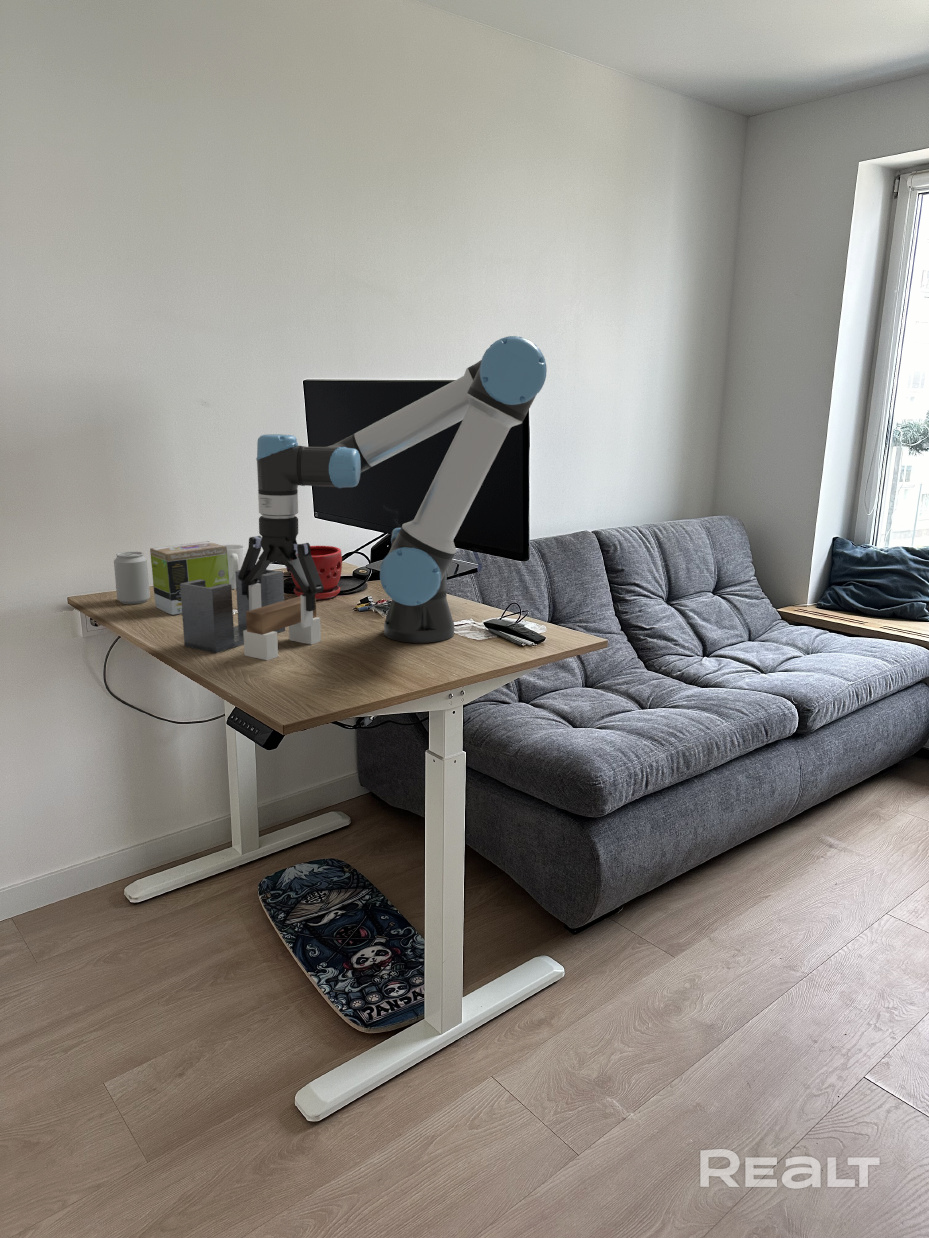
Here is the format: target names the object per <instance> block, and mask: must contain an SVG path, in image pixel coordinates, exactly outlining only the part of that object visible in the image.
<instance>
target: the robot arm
mask: <svg viewBox="0 0 929 1238" xmlns="http://www.w3.org/2000/svg"><path fill="white" fill-rule="evenodd" d="M547 368H548V367H547V364H546V359H545V356H544V354H543V352H542V350H541V349H540V348H539V347H538V346H537V344H535V343H534V342H532V341H531V340H529V339H526V338H524V337H522V336H517V335H513V336H512V335H511V336H510V335H509V336H504V337H501V338H499V339H498V340H495V341H494V342H493V343H492V344H490V345H489V347H488V348H487V349H486V350H485V351H484V354H483V356H482V358H481V360H479V361H477V362H476V363H474V364H472V365H470V366H469V367H467V368H466V369H465V370H464V371H465V372H464V375H462V376H461V377H459V378H457V379H455V380H453V381H451V382H449V383H448V384H446V385H444V386H442V387H440V388H438V389H436V390H434V391H433V392H430V393H429V394H427V395H424V396H423V397H420V398H419V399H418V400H415V401H413V402H412V403H410V404H408V405H405V406H404V407H402V408H401V409H398V410H397V411H395V412H393V413H391V414H389V415H387V416H386V417H382V418H381V419H379V420H377V421H375V422H373V423H372V424H370V425H368V426H366V427H365V428H363V429H361V430H359V431H357V432H355V433H353V434H352V435H349V436H348V437H345V438H344V439H341V440H340V441H338V442H335V443H333V444H332V445H328V446H302V445H299V443H298V441H297V440H298V439H297V437H296V436H295V435H294V434H293V435H291V434H277V433H276V434H271V433H270V434H269V433H268V434H261V435H260V436H259V437H258V438H257V441H256V442H257V443H256V445H257V447H256V451H257V452H256V459H255V460H256V470H257V486H258V487H257V496H258V497H257V499H258V513H259V514H260V516H259V517H258V533H259V535H257V536H250V537H249V538H248V547H247V549H246V550H247V551H246V552H245V559H244V561H243V564H242V567H241V570H240V572H239V575H238V579H239V580H243V581H244V582H245V584H246V585H247V598H248V599H249V611H250V610H254V609H257V608H261V584H259V583H257V582H259V578H260V577H261V576H262V574H263V573H264V571H265V570H266V569H268V567H269V566H270V564H271V563H272V564H273V563H276V564H279V565H284V567H287V568H289V570H290V571H291V572H290V574H291V573H292V575H293V576H294V578H295V580H296V581H297V583H298V584H299V586H300V588H301V589H302V591H303V595H301V628H306V627H309V626H312V625H313V610H315V594H316V593H318V592H322V591H323V590H324V587H323V584H322V582H321V579H320V577H319V574H318V571H317V569H316V566H315V564H314V561H313V558H312V556H311V550H310V546H311V545H310V543H309V542H305V543H298V542H297V538H298V537H297V536H298V535H299V517H297V515H298V514H299V498H298V497H299V496H298V495H299V494H298V492H299V491H298V486H301V487H305V486H308V487H309V486H310V487H323V488H324V487H327V488H337V489H342V488H354V487H357V486H358V484H359V482H360V480H361V474H362V473H363V472H365V471H367V470H369V469H370V468H373V467H374V466H376V465H378V464H380V463H382V462H383V461H386V460H387V459H389V458H392V457H393V456H395V455H397V454H400V453H401V452H403V451H406V450H407V449H408V448H412V447H413V446H415V445H416V444H418V443H421V442H422V441H425V440H426V439H429V438H430V437H433V436H434V435H436V434H438V433H440V432H442V431H444V430H446V429H448V428H450V427H452V426H454V425H456V424H457V423H460V422H461V423H460V425H459V427H458V429H457V431H456V433H455V435H454V438H453V439H452V442H451V444H450V446H449V447H448V450H447V452H446V454H445V455H444V458H443V460H442V462H441V464H440V466H439V468H438V470H437V472H436V474H435V476H434V479H432V482H431V484H430V485H429V489H428V491H427V492H426V494H425V496H424V499H423V501H422V502H421V504H420V507H419V508H418V510H417V513H416V515H415V516H414V519H412V520H410V521H408V522H405V523H402V526H401V527H396V528H394V529H393V530H392V531H391V538H390V543H391V547H390V550H389V552H388V553H387V555H386V556H385V557H384V558H383V560H382V562H381V564H380V567H379V569H380V571H379V580H380V584H381V587H382V588H383V590H384V593H386V595H387V596H388V598H390V599H391V601H390V604H389V608H388V611H387V613H386V617H385V620H384V623H383V634H384V636H385V637H387V638H388V639H390V640H394V641H397V642H404V643H415V644H416V643H417V644H418V643H420V644H422V643H423V644H425V643H435V642H441V641H446V640H448V639H451V638H452V637H453V636H455V622H454V620H453V615H452V612H451V609H450V606H449V602H448V599H447V592H448V591H447V588H448V587H447V585H448V584H447V582H448V581H447V580H448V579H447V578H448V577H447V576H448V575H447V574H448V573H447V572H448V569H449V567H450V565H451V563H452V561H453V558H454V557H455V554H456V553H457V549H456V546H455V542H454V539H455V537H456V536H457V534H458V533H459V530H460V527H461V526H462V524H463V522H464V520H465V518H466V516H467V514H468V512H469V510H470V508H471V506H472V504H473V502H474V500H475V498H476V496H477V495H478V492H479V491H480V489H481V486H483V483H484V480H485V479H486V476H487V474H488V473H489V471H490V469H491V466H492V465H493V463H494V461H495V460H496V458H497V456H498V453H499V451H500V449H501V447H502V445H503V443H504V441H505V440H506V437H507V435H508V434H509V431H510V430H511V428H512V427H515V426H519V425H521V424H523V422H524V420H525V418H526V416H527V414H528V412H529V410H530V408H531V406H533V405H532V404H533V402H534V401H535V398H536V396H537V395H538V394H539V393H540V392H541V390H542V389H543V387H544V385H545V382H546V378H547V370H548V369H547ZM261 550H262V552H261ZM260 553H261V554H260ZM297 554H298V555H297ZM292 559H293V560H292ZM287 568H286V569H287ZM256 583H257V584H256ZM316 586H317V587H316ZM308 588H309V589H308Z"/></svg>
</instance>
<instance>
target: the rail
mask: <svg viewBox="0 0 929 1238" xmlns="http://www.w3.org/2000/svg"><path fill="white" fill-rule="evenodd" d="M316 617H317V600H316V598H315V610H313V618H316ZM246 621H247V632H251V633H256V634H261V635H263V634H266V633H269V632H272V631H276V630H279V629H282V628H285V629H286V628H289V626H291V625H294V624H297V623H300V622H301V596H299V597H298V596H296V597H292V598H289V599H286V600H285V599H284V601H282V602H278V603H275V604H271V605H268V606H264V607H261V608H257V609H254V610H250V611H247V612H246Z"/></svg>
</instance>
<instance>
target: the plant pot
mask: <svg viewBox="0 0 929 1238" xmlns="http://www.w3.org/2000/svg"><path fill="white" fill-rule="evenodd" d="M310 550H311V556H312V558H313V561H314V564H315V566H316V569H317V571H318V574H319V577H320V579H321V582H322V584H323V587H324V590H323V591H322V592H318V593H316V594H315V598H316V601H317V600H320V601H321V600H330V599H332V598H334V597H336V596H338V594H339V593H340V592H341V587H340V586H339V581H340V579H341V575H342V571H343V570H342V568H343V556H342V550H341V548H339V547H336V546H333V547H332V545H310ZM297 555H298V554H297ZM292 560H293V559H292ZM289 573H290V576H291V578H292V581H293V583H294V585H295V587H294V589H293V592H294V594H295V595H296V597H299V596H301V595H303V591H302V589H301V588H300V586H299V584H298V583H297V581H296V580H295V578H294V576H293V575H292V573H291V571H290V572H289ZM316 587H317V586H316ZM308 589H309V588H308ZM334 589H335V590H334Z"/></svg>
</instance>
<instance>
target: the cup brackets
mask: <svg viewBox="0 0 929 1238" xmlns="http://www.w3.org/2000/svg"><path fill="white" fill-rule="evenodd" d="M239 572H240V570H238V571H235V573H236V589H235V591H236V608H237V625H235V626H234V613H233V612H234V610H233V609H234V608H233V592H232V591H233V589H232V588H231V584H222V585H217V586H213V587H209V588H208V587H206V583H205V580H201V579H199V580H194V581H190V582H185V583H181V584H180V589H181V603H182V613H181V616H182V628H183V629H182V631H183V643H184V648H185V647H186V648H189V649H195V650H199V651H203V652H207V653H212V654H213V653H214V654H218V653H221V652H225V651H227V650H230V649H234V648H237V647H240V646H244V636H243V631H244V630H247V621H246V612H247V611H249V599H248V598H247V585H246V584H245V582H244V581H243V580H239V579H238V575H239ZM257 583H259V584H261V607H264V606H268V605H271V604H275V603H278V602H282V601H285V592H284V587H285V585H284V584H285V583H284V572H283V571H280V570H273V569H268V568H266V570H265V571H264V573H263V574H262V576H261V577H260V578H259V582H257ZM257 583H256V584H257ZM285 631H286V627H285V628H282V629H279V630H276V631H275V632H277V634H279V633H283V632H285Z"/></svg>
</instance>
